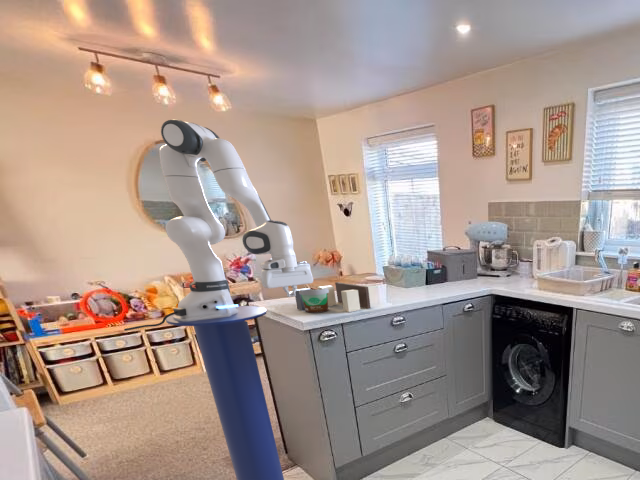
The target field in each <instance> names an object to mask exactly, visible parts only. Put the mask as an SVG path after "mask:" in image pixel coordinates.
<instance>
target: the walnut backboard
mask: <svg viewBox="0 0 640 480" xmlns="http://www.w3.org/2000/svg"><path fill="white" fill-rule="evenodd" d="M334 284H335V285H334V286H335V291H336V300H337V303H341V304H343V301H342V294H341V291H345V290H352V289H353V290H358V295H359V303H360V308H362V309H367V310H369V309H371V299H370V292H369V290H370V289H369V286H365V285H359V284H353V283H347V282H346V283H345V282H339V281H338V282H334Z"/></svg>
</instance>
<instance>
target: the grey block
mask: <svg viewBox="0 0 640 480" xmlns="http://www.w3.org/2000/svg"><path fill="white" fill-rule="evenodd" d="M300 289H301V290H312V288H309V287H308V288H307V287H306V288H297V290H296V292H295V293H296V296H294V298H295V303H296V308H297V310H300V311H306V310H305V306H304V303H303V299H302V296H301V294H299V291H300Z"/></svg>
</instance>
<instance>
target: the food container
mask: <svg viewBox="0 0 640 480" xmlns="http://www.w3.org/2000/svg"><path fill="white" fill-rule="evenodd" d="M299 289H300V291H299V294H301V296H302V299H303V303H304V306H305V310H304V311H305V312H307V313H311V314H312V313H314V314H317V313H324V312H327V311H329V306H328V293H329V290H328V289H327V288H326V289H322V290H318V288H316V289H315V288H314V289H311V290H301V289H302V288H299Z"/></svg>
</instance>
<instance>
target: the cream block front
mask: <svg viewBox="0 0 640 480" xmlns="http://www.w3.org/2000/svg"><path fill="white" fill-rule="evenodd" d="M341 294H342V301H343V303H342V309H343V311H344V312H347V313H350V312H351V313H352V312H356V311H357V312H358V311H361V307H360V303H359V295H358V290H353V289H352V290H345V291H341Z"/></svg>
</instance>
